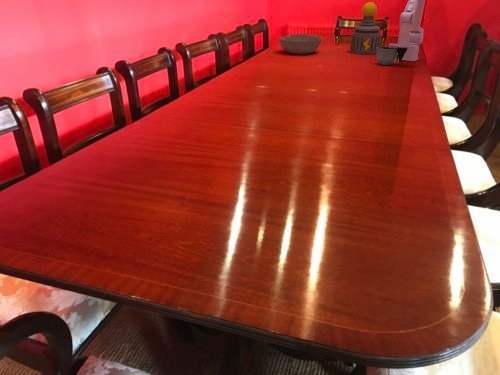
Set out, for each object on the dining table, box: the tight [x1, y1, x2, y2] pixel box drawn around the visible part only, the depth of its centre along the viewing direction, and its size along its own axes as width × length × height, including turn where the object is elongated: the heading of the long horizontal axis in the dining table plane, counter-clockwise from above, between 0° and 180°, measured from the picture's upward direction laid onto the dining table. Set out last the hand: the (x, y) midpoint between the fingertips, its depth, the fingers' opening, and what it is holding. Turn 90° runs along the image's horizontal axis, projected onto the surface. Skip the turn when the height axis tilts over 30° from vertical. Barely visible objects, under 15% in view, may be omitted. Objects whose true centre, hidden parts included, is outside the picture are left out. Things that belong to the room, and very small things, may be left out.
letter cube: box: [393, 53, 400, 63], centre depth 229 cm, size 5×5×5 cm
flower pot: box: [375, 45, 397, 66], centre depth 221 cm, size 9×9×9 cm
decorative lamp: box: [349, 1, 382, 56], centre depth 252 cm, size 19×19×30 cm
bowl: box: [278, 33, 323, 55], centre depth 258 cm, size 28×28×10 cm
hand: (400, 62), depth 218 cm, fingers closed
